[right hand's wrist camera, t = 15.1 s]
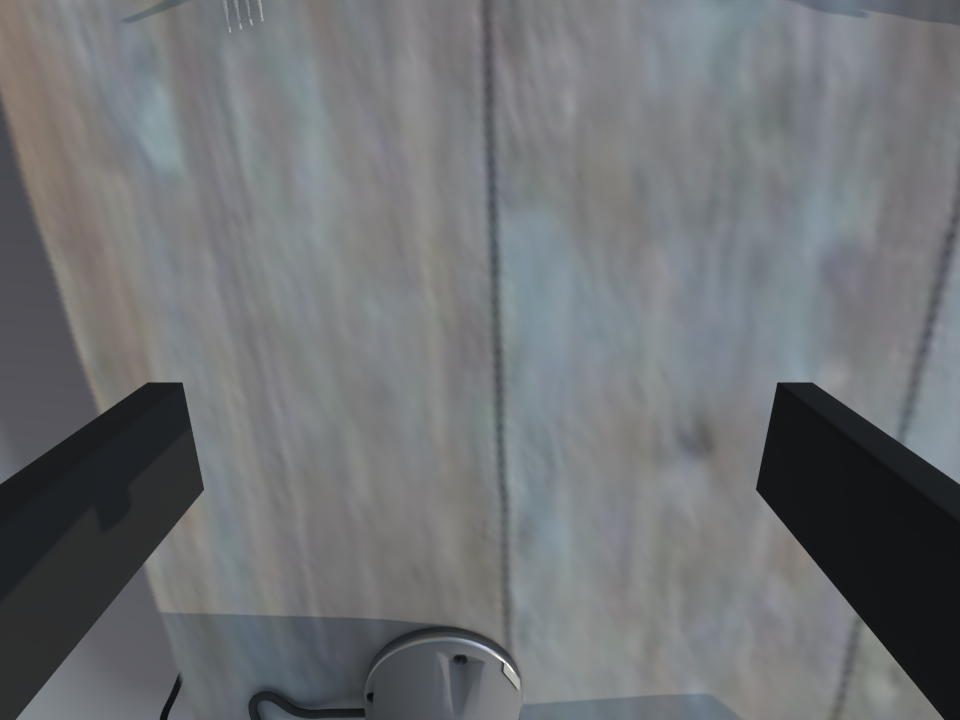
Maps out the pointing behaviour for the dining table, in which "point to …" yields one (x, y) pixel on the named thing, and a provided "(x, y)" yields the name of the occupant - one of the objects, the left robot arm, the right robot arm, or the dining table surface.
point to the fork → (236, 4)
